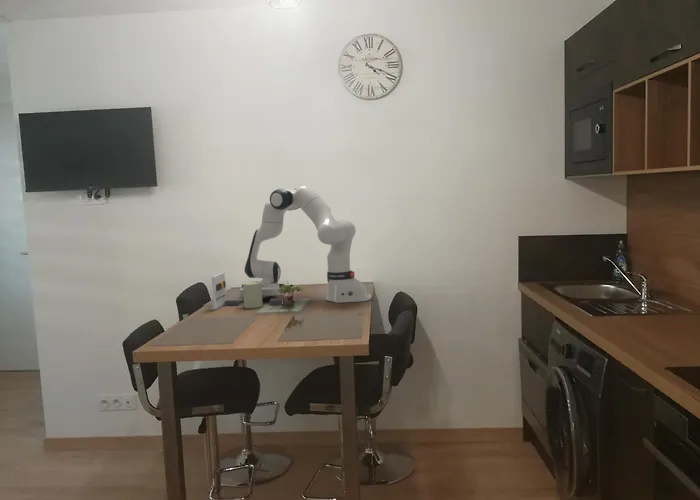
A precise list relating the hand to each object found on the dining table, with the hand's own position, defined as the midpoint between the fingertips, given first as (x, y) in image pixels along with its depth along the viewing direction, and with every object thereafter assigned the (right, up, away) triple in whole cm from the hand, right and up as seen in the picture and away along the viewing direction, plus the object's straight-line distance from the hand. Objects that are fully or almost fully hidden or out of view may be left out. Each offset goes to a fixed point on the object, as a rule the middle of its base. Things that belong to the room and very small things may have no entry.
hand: (255, 294), depth 288 cm
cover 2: (+11, -5, -2) cm, 12 cm away
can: (0, -6, -4) cm, 7 cm away
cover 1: (-11, -5, +1) cm, 12 cm away
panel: (-17, -6, -2) cm, 18 cm away
